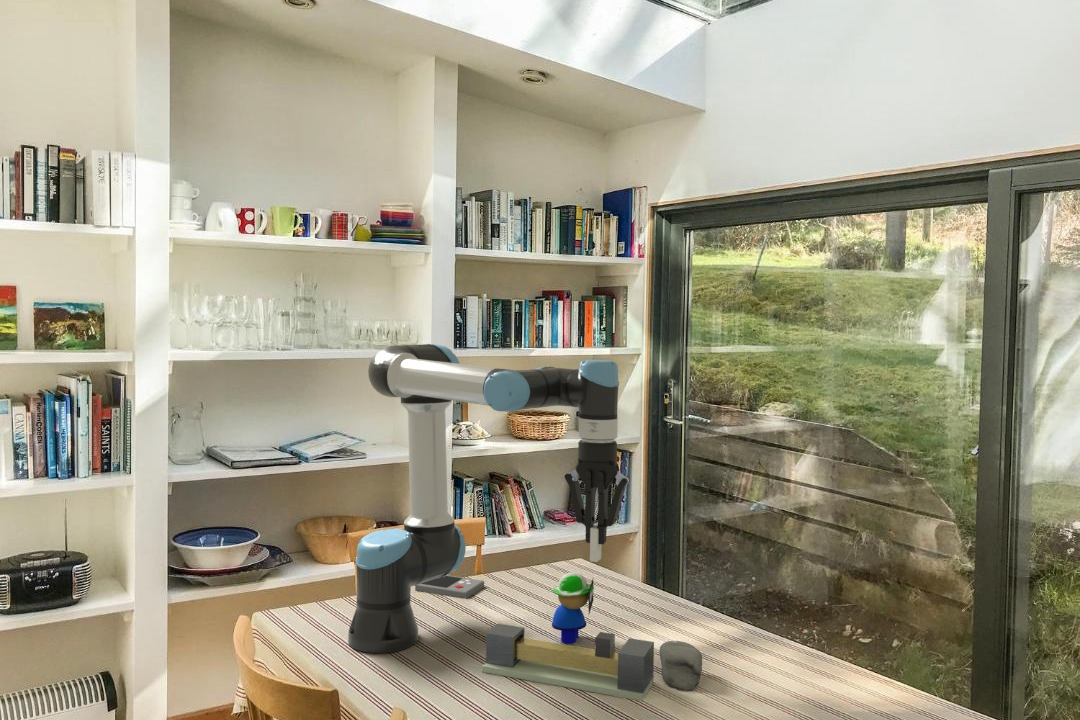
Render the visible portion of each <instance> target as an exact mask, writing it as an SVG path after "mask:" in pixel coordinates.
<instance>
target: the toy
mask: <svg viewBox="0 0 1080 720" xmlns="http://www.w3.org/2000/svg"><path fill="white" fill-rule="evenodd" d="M594 590H595V586H594V578H592V580H591V582H590V583H588V581H587V579H586V577H584V576H583V574H582V573H578V572H576V571H575V572H574V571H570V572H568V573H565V574H564V575H562V577H560V579H559V581H558V586H556V587H554V588H553V589H552V592H553V594H555V595H557V599H558V601H559V603H560V605H558V607H557V608H556V609H555V612H554V614H553V618H552V623H551V627H552V628H553V629H554V630H556V631H560V633H561V636H560V642H561V644H565V645H573V644H575V643H577V639H579V630H582V629H583V630H584V628H586V627H587V621H586V620H585V619H586V618H585V615H584V612H583V611H582V609H581V608H583V607H585V606H586V604H588V615H590V613H591V609H592V607H593V603H594Z"/></svg>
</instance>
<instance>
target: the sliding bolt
mask: <svg viewBox="0 0 1080 720" xmlns="http://www.w3.org/2000/svg"><path fill="white" fill-rule="evenodd" d="M594 640H595V641H594V643H595V644H594V648H588V647H583V646H576V645H572V644H565V643H557V642H551V641H545V640H541V639H540V640H539V639H533V638H527V637H524V638H522V637H518V638H517V639H516V640H515V659H521V660H526V661H532V662H538V663H544V664H550V665H555V666H561V667H567V668H573V669H578V670H584V671H590V672H596V673H602V674H607V675H613V676H618V652H615V651H616V649H615V648H616V645H615V644H616V634H615V633H609V632H603V631H600V632H598V634H597V635H596V636H595V639H594Z"/></svg>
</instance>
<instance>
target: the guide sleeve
mask: <svg viewBox="0 0 1080 720" xmlns="http://www.w3.org/2000/svg"><path fill="white" fill-rule="evenodd" d="M518 637H522V638H525V627H522V626H515V625H510V624H509V625H508V624H503V623H497V624H495V625H494V626H492V628H490V629H489V630H488V631H487V632H486V633H485V663H488V664H494V665H500V666H505V667H511V668H513V667H514V666H515V665H516V664H518V663H519V662H520V661H521V659H515V640H516V639H517V638H518Z"/></svg>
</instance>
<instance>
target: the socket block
mask: <svg viewBox="0 0 1080 720" xmlns="http://www.w3.org/2000/svg"><path fill="white" fill-rule="evenodd" d="M617 653H618V685H617V689H620V690H626V691H631V692H637V693H642V694H643V693H644V691H645V690H646V688H647V686H648V685H649V683H650V682H651V680H652V678H653V676H654V670H655V669H654V666H655V665H654V661H655V660H654V659H655V658H654V657H655V654H654V653H655V641H650V640H645V639H636V638H631V637H629V638H628V640H626V642H625V643H624V644H623V646H622V647H621V648H620V650H619V651H618V652H617Z"/></svg>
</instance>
